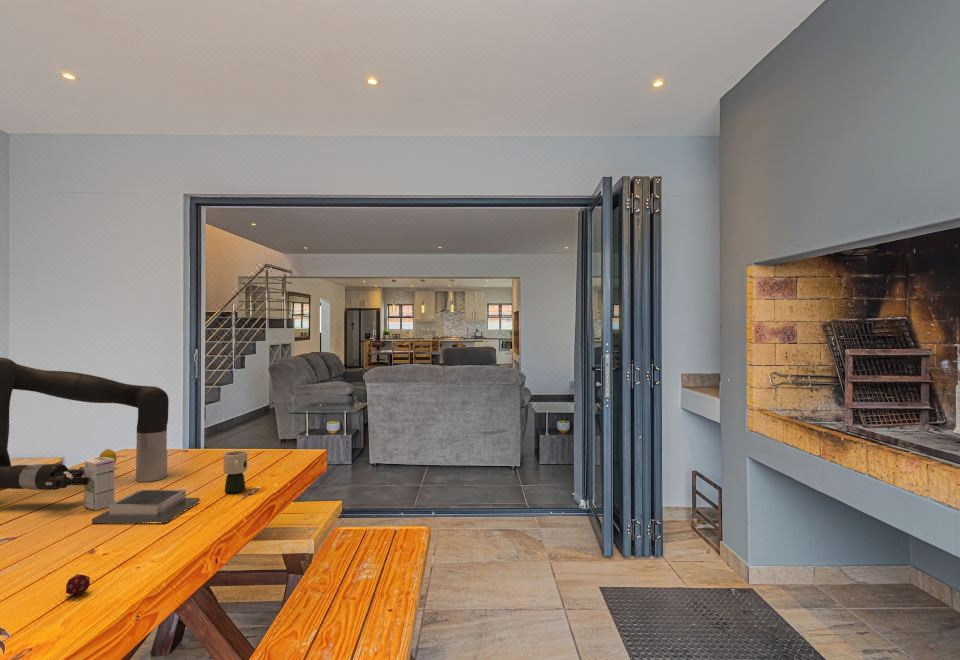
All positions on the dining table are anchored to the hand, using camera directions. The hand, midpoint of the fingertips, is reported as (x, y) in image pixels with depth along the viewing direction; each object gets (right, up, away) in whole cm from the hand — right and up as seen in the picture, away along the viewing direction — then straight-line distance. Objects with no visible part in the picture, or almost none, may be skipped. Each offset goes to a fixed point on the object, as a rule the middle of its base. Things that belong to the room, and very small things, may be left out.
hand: (98, 477), depth 153 cm
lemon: (-28, -9, +41) cm, 51 cm away
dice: (+35, -9, -51) cm, 63 cm away
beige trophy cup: (+34, -10, +16) cm, 39 cm away
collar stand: (+19, -9, -5) cm, 21 cm away
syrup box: (0, -9, 0) cm, 9 cm away
